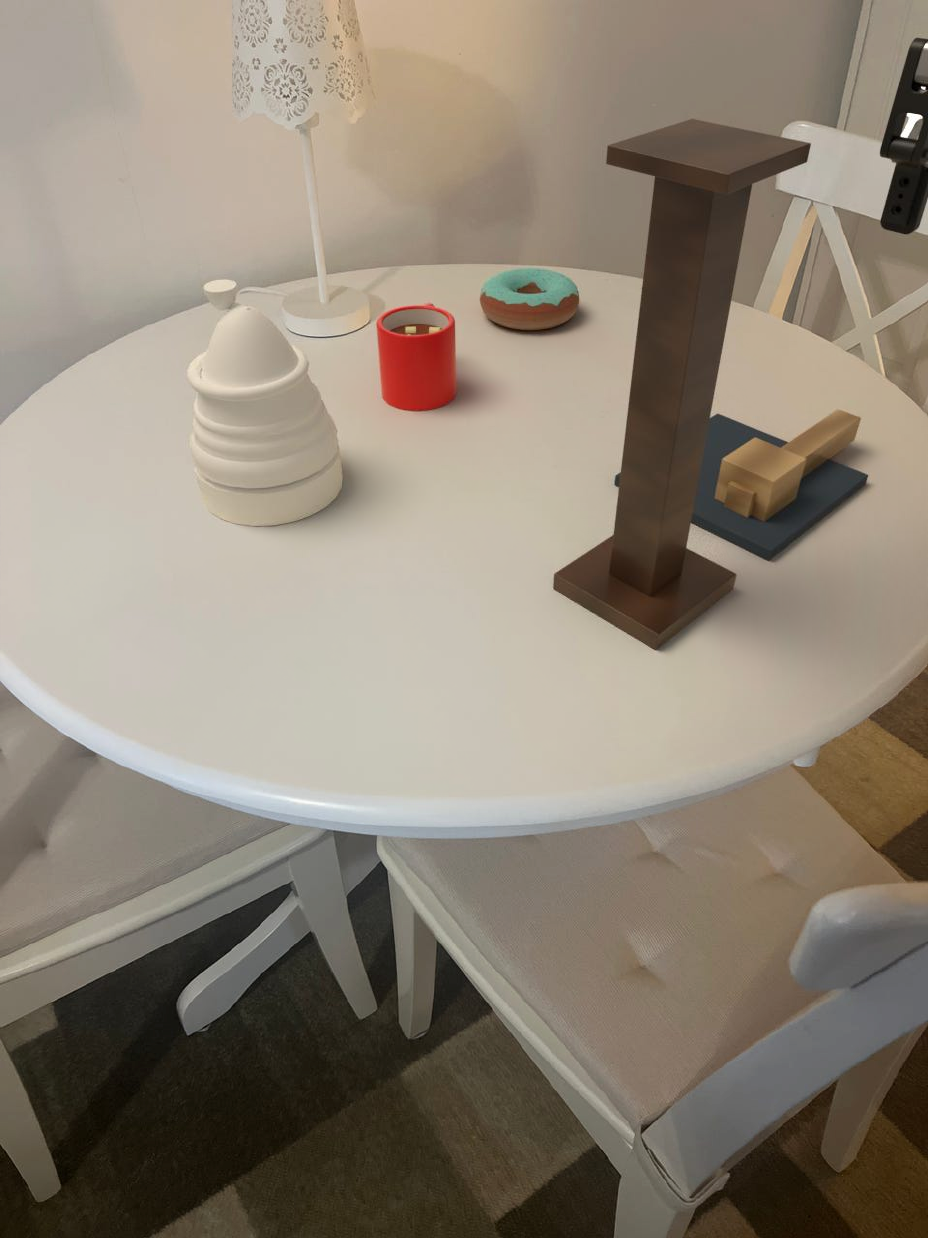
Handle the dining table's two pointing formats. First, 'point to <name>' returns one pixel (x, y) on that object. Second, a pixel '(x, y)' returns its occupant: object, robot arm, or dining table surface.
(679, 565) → the brown pedestal stand
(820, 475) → the mat
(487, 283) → the donut
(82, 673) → the dining table surface
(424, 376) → the mug
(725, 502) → the light wood mallet shape
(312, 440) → the honey pot
